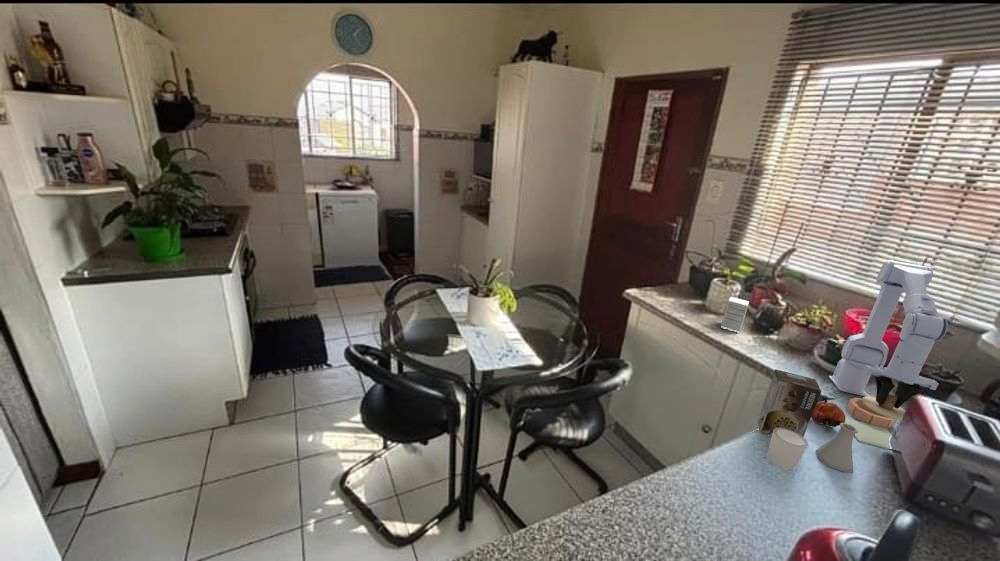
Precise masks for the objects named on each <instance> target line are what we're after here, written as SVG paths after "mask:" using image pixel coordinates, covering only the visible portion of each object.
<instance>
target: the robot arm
mask: <svg viewBox="0 0 1000 561" xmlns="http://www.w3.org/2000/svg"><path fill="white" fill-rule="evenodd" d="M933 276H934V270H933V269H932V267H931V266H925V265H921V264H912V263H908V262H901V261H896V260H893V259H888V260H886V261H885V262H884V263H883V264H882V265H881V267H880V270H879V271H878V273H877V277H876V281H875V283H876V284H877V285H880V290H879V293H878V295H877V297H876V300H875V302H874V305H873V308H872V309H871V312H870V315H869V316H868V319H867V322H866V324H865V325H864V326H865V327H864V328H863V331H862V333H858V334H854V335H850V336H849V337H847V340H846V341H845V343H844V344H843V346H842V349H841V354H840V355H841V357H842V358H841V359H840V360H839V361H838V362H837V365H836V367H835V369H834V371H833V374H832V375H828V378H829V379H830V380H831V381H832V383H833V384H834V385H835V386H836V388H837V389H838V390H839V391H841V392H845V393H848V394H854V395H857V396H862V397H865V396H870V395H869V394H868V393H867V392H866V391H865V389H866V388H867V385H868V383H869V380H870V378H871V376H874V380H875V385H876V396H875V397H876V401H877V403H878V404H880V405H883V404H884V402H885V400H886V398H887V396H888V394H889V393H890V392H892V390H893V389H894V388H895V387H896V385H895V384H894V383H893V381H897V382H898V383H897V388H896V391H895V393H894V394H895V395H897V396H898V399H897V401H896V403H895V405H894V408H897V409H898V408H899V407H901V406H903V404H904V403H906V402H907V401H908V400H910V399H911V398H913V397H914V396H916V395H919V394H921V392H922V388H921V387H924V388H928V389H929V390H933V391H936V390H937V389H938V386H939V383H938V382H937V381H936V380H935V379H933V378H927V377H924V376H921V375H920V373H921V370H922V369H923V368H924V367H923V366H924V364H925V363H926V361H927V359H928V357H929V354H930V352H932V349H933V346H934V344H935V342H936V341H938V342H939V341H940V340H942V339H943V338H944V337H945V335H946V333H947V331H948V324H949V323H948V319H947V318H946V317H943V316H942V315H941V314H940V315H939V313H938V310H937V306H936V304H935V300H934V299H933V297H932V296H930V295H928V293H927V287H928V285H929V284H930V283H931V281H932V279H933ZM904 293H905V296H906V297H905V298H904V299H903V301H902V306H903V310H904V314H905V318H904V319H903V322H902V326H901V331H900V332H899V338H900V339H899V341H898V344H897V345H896V347H895V350H894V352H893V354H892V357H891V358H890V361H889V363H888V365H887V367H885V364H886V362H887V359H888V354H889V350H890V349H889V347H888V345H887V344H886V343H885V342H884V341H883V337H884V336H885V334H886V331H887V329H888V326H889V324H890V322H891V319H892V316H893V315H894V313H895V310H896V308H897V306H898V303H899V301H900V298H901V297H902V295H903V294H904Z"/></svg>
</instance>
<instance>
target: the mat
mask: <svg viewBox="0 0 1000 561" xmlns="http://www.w3.org/2000/svg"><path fill="white" fill-rule="evenodd" d="M844 423H846V424H850V425H852V426H854V427H855V428H856V429H857V431H858V433H855V435H854V437H853V438H855V440H856V441H857V442H859V443H863V444H867V445H871V446H874V447H878V448H882V449H886V450H889V449H890V445H889V438H890V436H891V435H892V434H891V432H890V431H889V429H886V428H882V427H878V426H874V425H870V424H866V423H864V422H862V421H858V420H853V419H849V418H846V417H845V422H844Z"/></svg>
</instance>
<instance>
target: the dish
mask: <svg viewBox="0 0 1000 561" xmlns="http://www.w3.org/2000/svg"><path fill="white" fill-rule="evenodd" d="M862 399H863V397H853V398H850V399H849V400H848V403H847V405H846V407H845V409H846V411H847V412H848V413H849V415H850V416H852V417H853V418H854V419H856V420H857V421H858V420H859V422H862V423H866V424H870V425H874V426H878V427H882V428H886V429H887V430H889V429H891V428H893V427H894V426H895V424H896V422H897V420H895V419H891V418H888V417H885V416H883V415H880V414H878V413H876V412H874V411H872V410H871V409H869V408H867V407H866V406H865V405H864V404H863V403H862ZM892 426H893V427H892ZM890 427H891V428H890ZM888 428H889V429H888Z"/></svg>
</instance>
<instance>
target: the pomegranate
mask: <svg viewBox="0 0 1000 561" xmlns="http://www.w3.org/2000/svg"><path fill="white" fill-rule="evenodd" d="M823 400H824V401H819V402H818V401H817V404H816V406H815V409H814V411H813V414H812V417H811V419H812V421H813V423H816V424H819V425H824V426H825V428H826V433H825V434H828V429H829V427H832V428H835V427H838V426H840V423H844V422H845V418H846V415H845V413H844V411H843V409H841V407H839V406H838V404H836V403H833V402H829V401H828V398H823Z"/></svg>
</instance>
